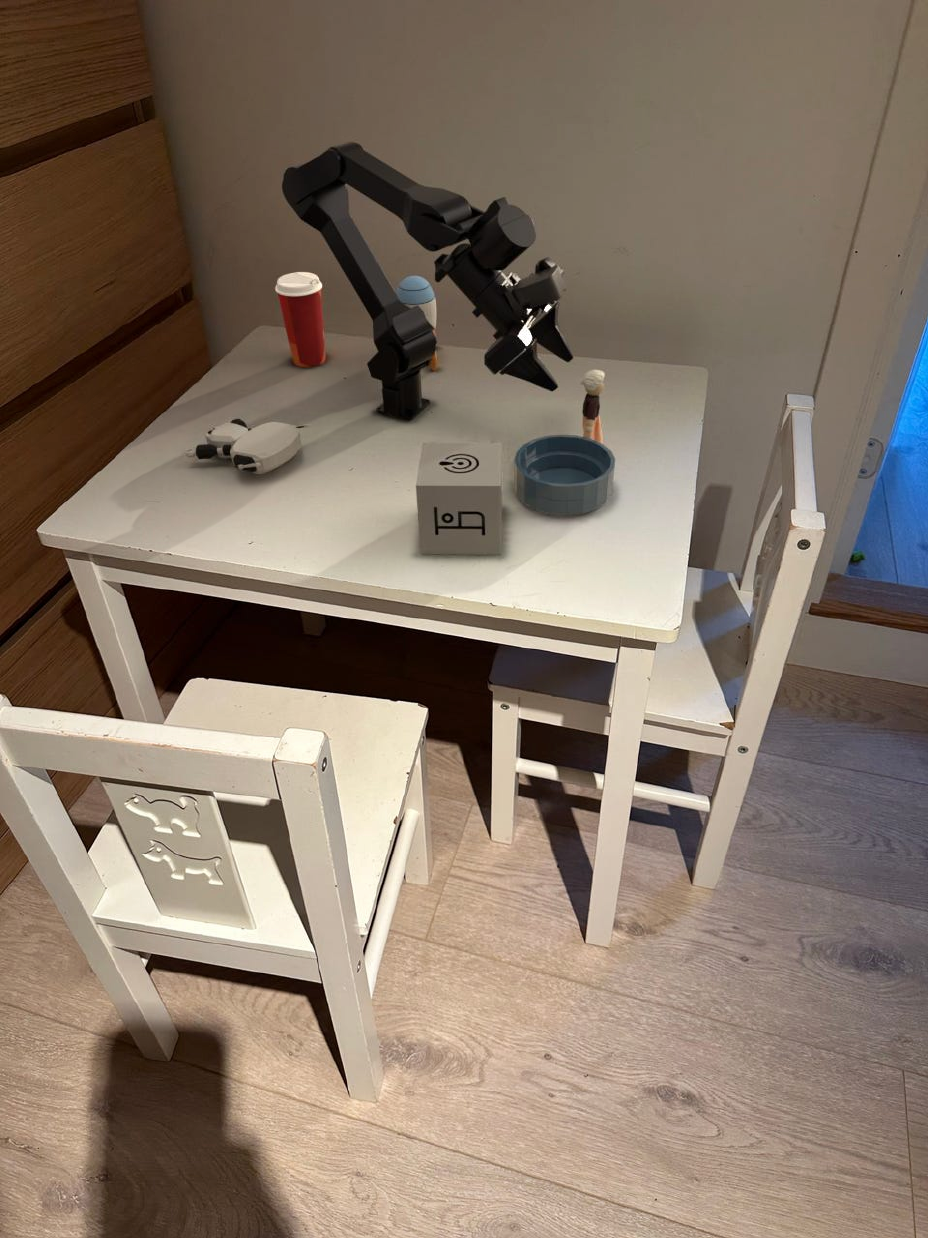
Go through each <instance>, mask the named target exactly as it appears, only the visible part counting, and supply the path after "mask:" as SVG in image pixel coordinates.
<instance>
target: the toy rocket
mask: <svg viewBox="0 0 928 1238" xmlns="http://www.w3.org/2000/svg"><path fill="white" fill-rule="evenodd" d="M395 292H396V294H397V296H398V298H399V299H400V301H401V302H402V303H403V304H405V305H406V306H408V307H410V308H413V307H415V306H417V305H418V306H420V307H421V308H422V309H423V311H424V314H425V316H426V318H427V320H428V321H429V323H430V324H431V325H432V326H433V327H434V330H432V331H433V333H434V335H435V337H436V338H437V335H436V326H437V299H436V296H435V293H434V289H433V287H432V286H431V284H430V283H429V281H428V280H427V279H425V278H424V277H422V276H418V275H410V276H407V277H405V278H404V279H403V280H402V281H400V282H399V284H398V287H397V289H396V291H395ZM429 367H430V369H431V371H433V372H436V371H437V368H438V356H437V350H436V351H435V354H434V356H433V357H432V360H431V363H430V366H429Z"/></svg>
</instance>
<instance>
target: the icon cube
mask: <svg viewBox="0 0 928 1238" xmlns="http://www.w3.org/2000/svg"><path fill="white" fill-rule="evenodd" d="M415 482H416V483H415V492H416V493H415V494H416V495H415V496H416V508H417V521H418V522H417V523H418V537H419V550H420V555H477V556H478V555H479V556H481V555H491V556H495V555H496V556H500V555H501V554H502V523H503V520H502V519H503V442H422V446H421V452H420V458H419V465H418V470H417V476H416V481H415Z"/></svg>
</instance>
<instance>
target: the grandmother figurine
mask: <svg viewBox="0 0 928 1238" xmlns="http://www.w3.org/2000/svg"><path fill="white" fill-rule="evenodd" d="M605 377H606V376H605V372H604V371H602V370H601V369H600V370H599V369H590V370H589V371H587V372H586V373H585V374H583V376H582V377H581V379H580V381H579V384H580V385H581V386H582V385H583V386H584V390H585V392H586V394H585V397H584V400H583V403H582V411H581V414H582V429H583V436H582V437H586V438H590V439H592V440H595V441H597V442H599V443H601V444H603V445H604V443H603V441H604V439H603V431H602V429H603V428H602V422H601V417H600V409H601V404H600V403H601V402H600V394H601V393H603V391H604V388H605V384H604V379H605Z"/></svg>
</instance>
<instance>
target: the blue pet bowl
mask: <svg viewBox="0 0 928 1238" xmlns="http://www.w3.org/2000/svg"><path fill="white" fill-rule="evenodd" d="M513 461H514V462H513V490H514V493H515V496H516V498H517V499H519V500H520V502H522V503H523V504H524V505H526V506H527V507H529V508H531V509H533V510H535V511H539V512H542V513H545V514H550V515H559V516H572V515H582V514H585V513H589V512H592V511H595V510H597V509H599V508H600V507H602V506H603V505H605V504H606V503H608V501H609V500H610V499H611V497H612V495H613V487H614V486H613V485H614V476H615V467H616V457H615V456H614V454H613V452H612V450H611V449H609V447H607V446H606V445H604V443H603V444H601V443H599V442H597V441H595V440H592V439H590V438H586V437H583V436H581V435H576V434H551V435H545V436H541V437H537V438H533V439H531V440H530V441H528V442H525V443H524V444H522V445H521V447H520V448H518V450H517V451H516V452H515V456H514V459H513Z"/></svg>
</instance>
